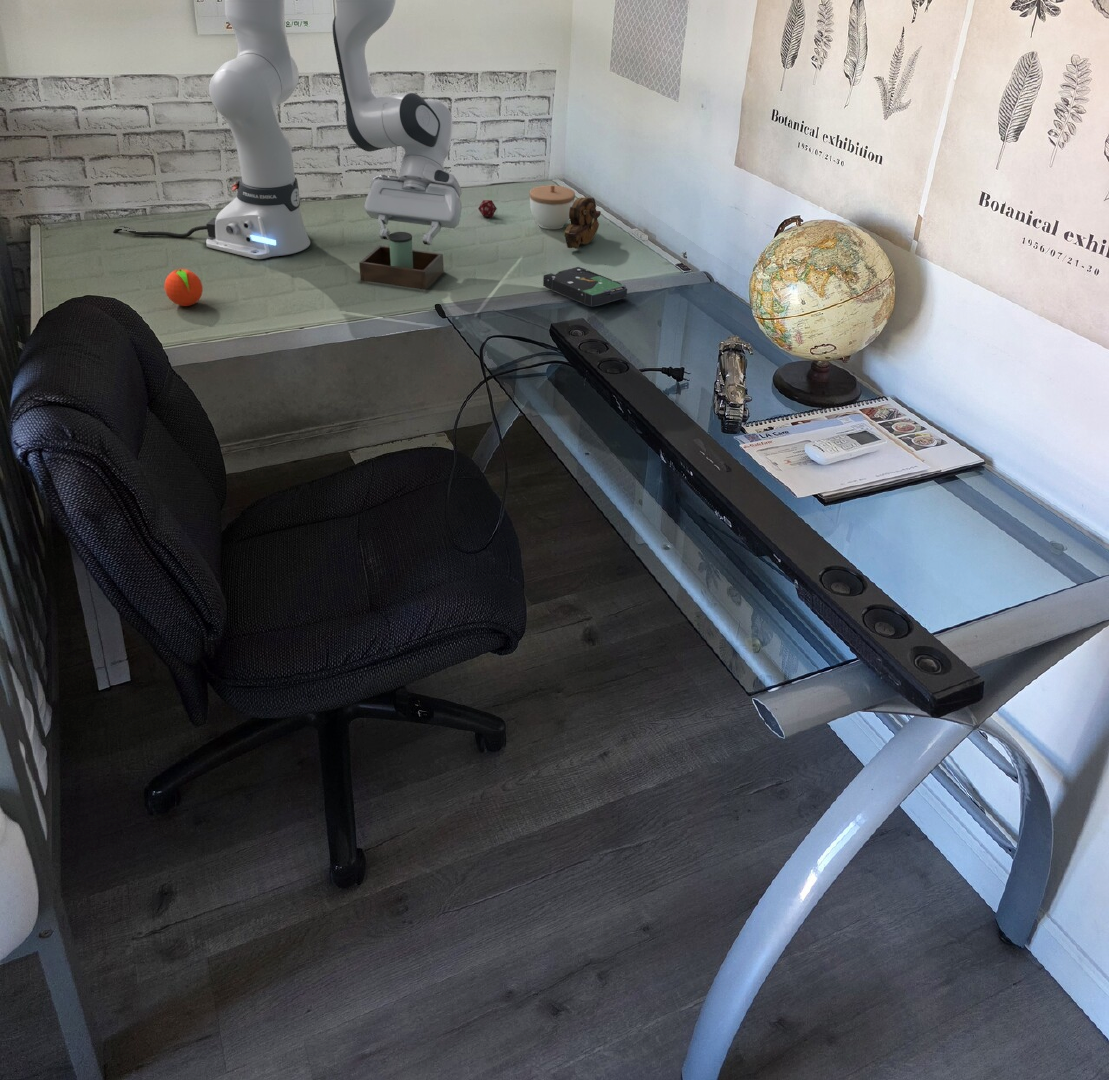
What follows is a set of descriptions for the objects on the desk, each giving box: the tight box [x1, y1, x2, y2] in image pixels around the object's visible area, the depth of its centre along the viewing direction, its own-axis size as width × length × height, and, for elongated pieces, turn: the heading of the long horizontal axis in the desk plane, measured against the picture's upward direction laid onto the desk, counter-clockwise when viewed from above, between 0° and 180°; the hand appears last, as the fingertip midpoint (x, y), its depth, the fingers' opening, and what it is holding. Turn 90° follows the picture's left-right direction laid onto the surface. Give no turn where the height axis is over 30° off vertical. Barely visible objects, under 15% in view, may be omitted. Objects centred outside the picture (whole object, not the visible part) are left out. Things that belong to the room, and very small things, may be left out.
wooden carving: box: [563, 196, 602, 249], centre depth 225 cm, size 16×5×10 cm, turn 161°
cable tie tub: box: [388, 231, 413, 269], centre depth 206 cm, size 5×5×8 cm
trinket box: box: [529, 184, 576, 230], centre depth 234 cm, size 11×11×9 cm
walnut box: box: [358, 244, 444, 291], centre depth 207 cm, size 14×10×4 cm
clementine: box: [164, 268, 203, 307], centre depth 192 cm, size 8×7×7 cm
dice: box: [477, 199, 498, 218], centre depth 239 cm, size 4×4×4 cm
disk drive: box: [542, 266, 628, 308], centre depth 204 cm, size 10×3×15 cm
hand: (405, 241), depth 206 cm, fingers open, 8 cm apart
